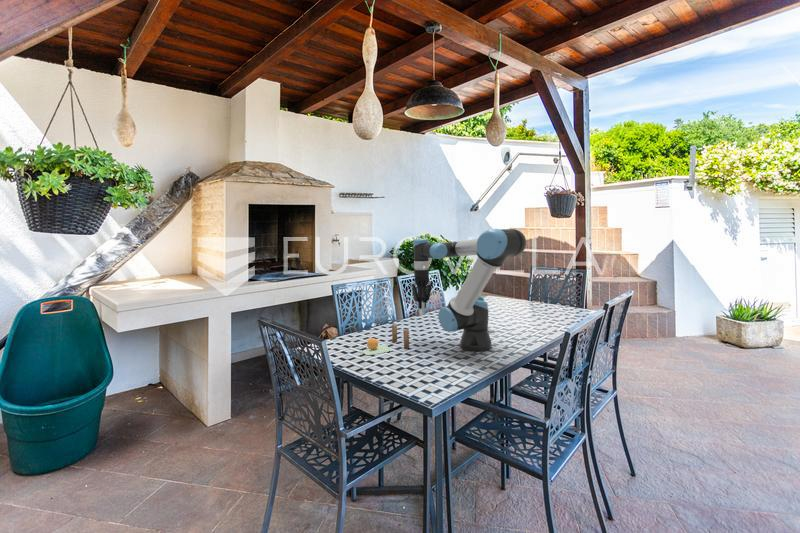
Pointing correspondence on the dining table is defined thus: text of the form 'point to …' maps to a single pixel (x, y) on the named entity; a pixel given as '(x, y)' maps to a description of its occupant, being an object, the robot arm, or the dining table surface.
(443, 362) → the dining table surface
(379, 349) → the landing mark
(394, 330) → the post
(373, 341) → the ball
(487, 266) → the robot arm
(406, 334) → the post
